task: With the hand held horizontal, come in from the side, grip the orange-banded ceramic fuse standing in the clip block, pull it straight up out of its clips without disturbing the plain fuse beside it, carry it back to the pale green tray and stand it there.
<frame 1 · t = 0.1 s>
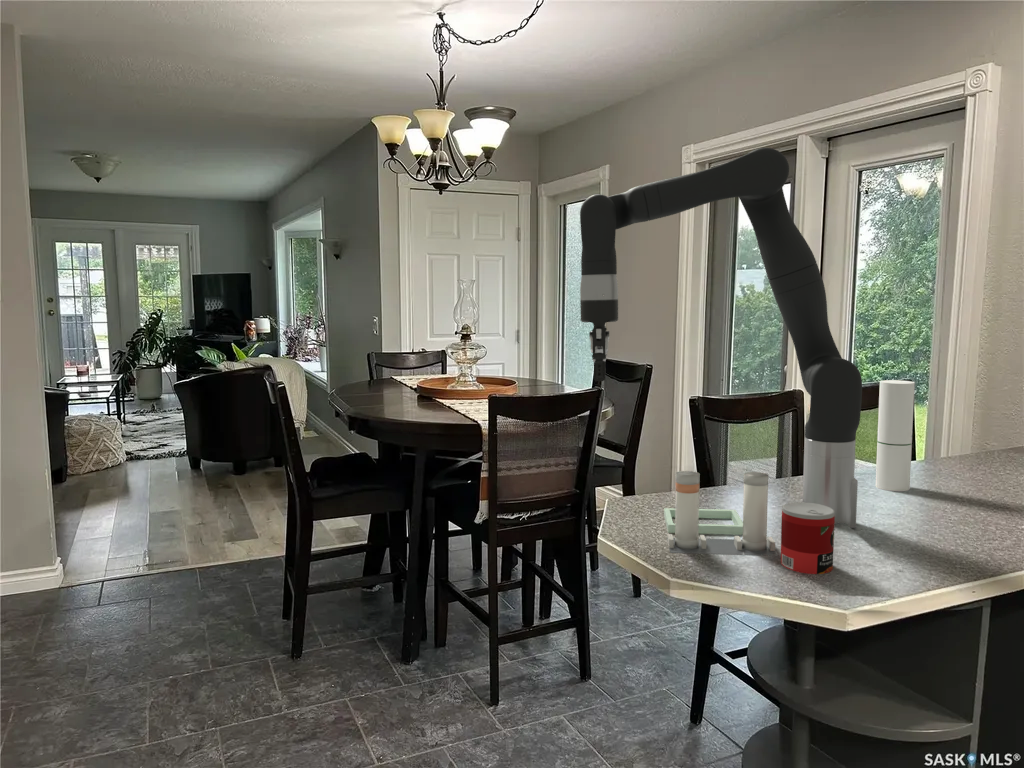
hand: (599, 378, 148), 29 cm above the table, tool pointing down, fingers open, 8 cm apart
tray: (702, 532, 142), on the table
cylindrical container: (892, 488, 172), on the table
canned food: (806, 575, 120), on the table
clip block: (720, 554, 129), on the table
plain fuse: (754, 547, 128), point 1 cm above the table, touching clip block
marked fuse: (686, 545, 130), point 1 cm above the table, touching clip block
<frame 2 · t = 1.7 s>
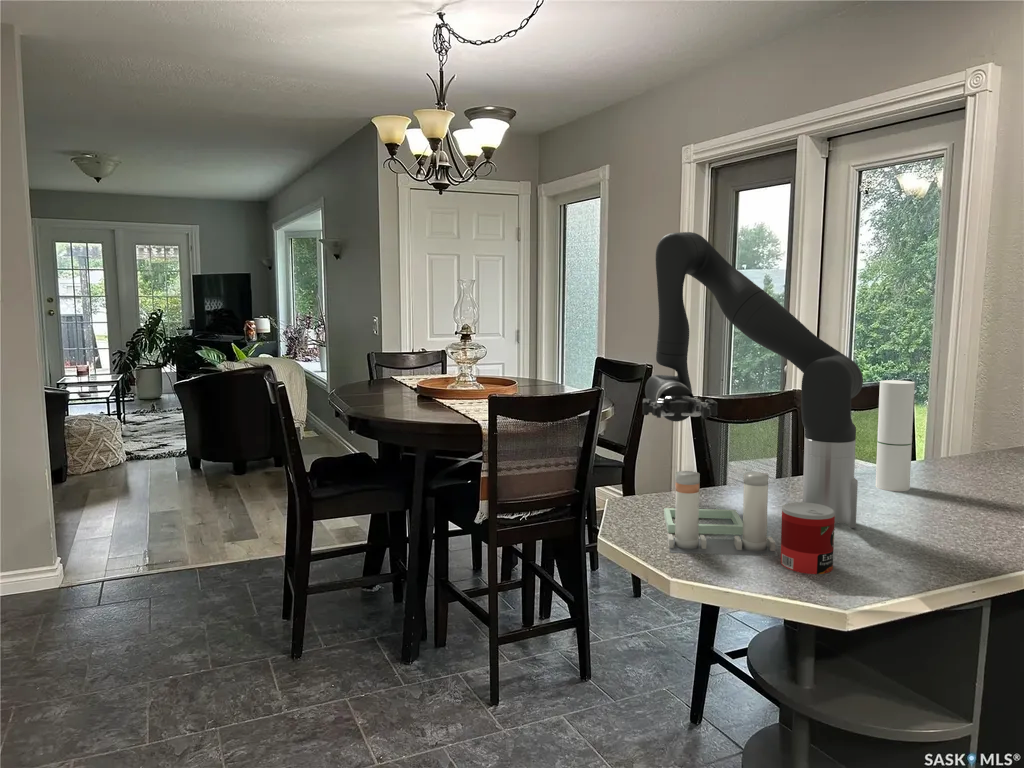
hand: (682, 412, 138), 24 cm above the table, tool horizontal, fingers open, 8 cm apart
nothing on the table moved.
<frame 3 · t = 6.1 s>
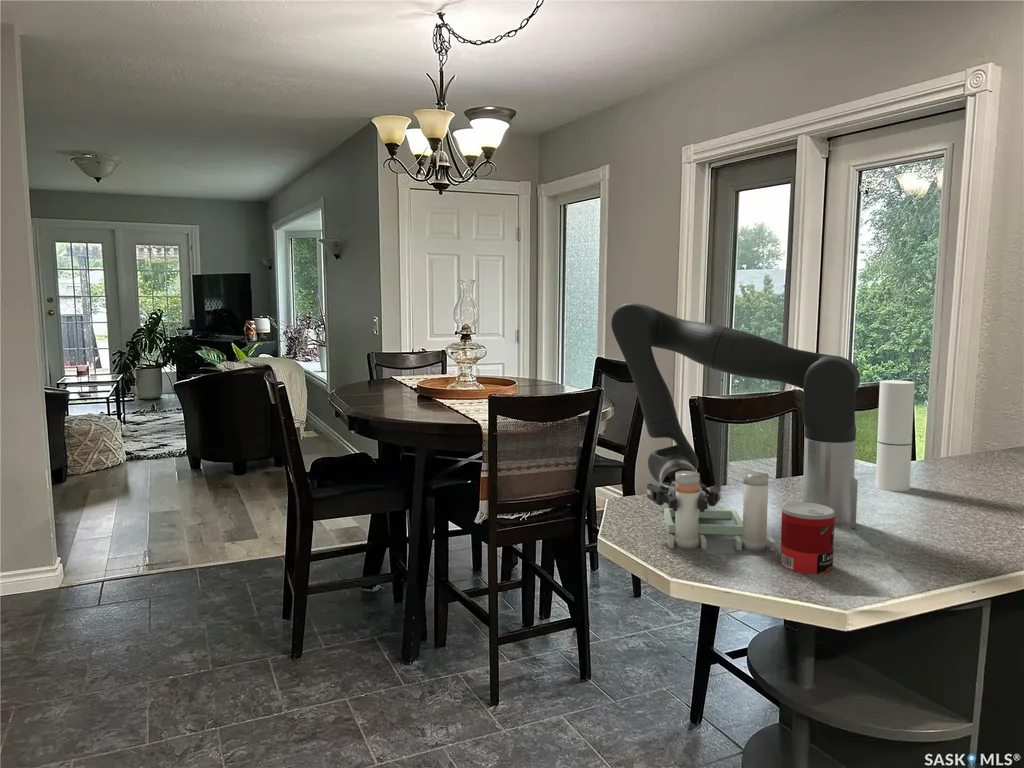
hand: (689, 505, 126), 9 cm above the table, tool horizontal, fingers closed on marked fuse, 4 cm apart
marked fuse: (686, 545, 130), point 2 cm above the table, touching clip block, gripper
everything else where it was.
when the fingers open (10 cm above the table, at t = 12.9 s): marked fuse stays where it is, resting on tray.
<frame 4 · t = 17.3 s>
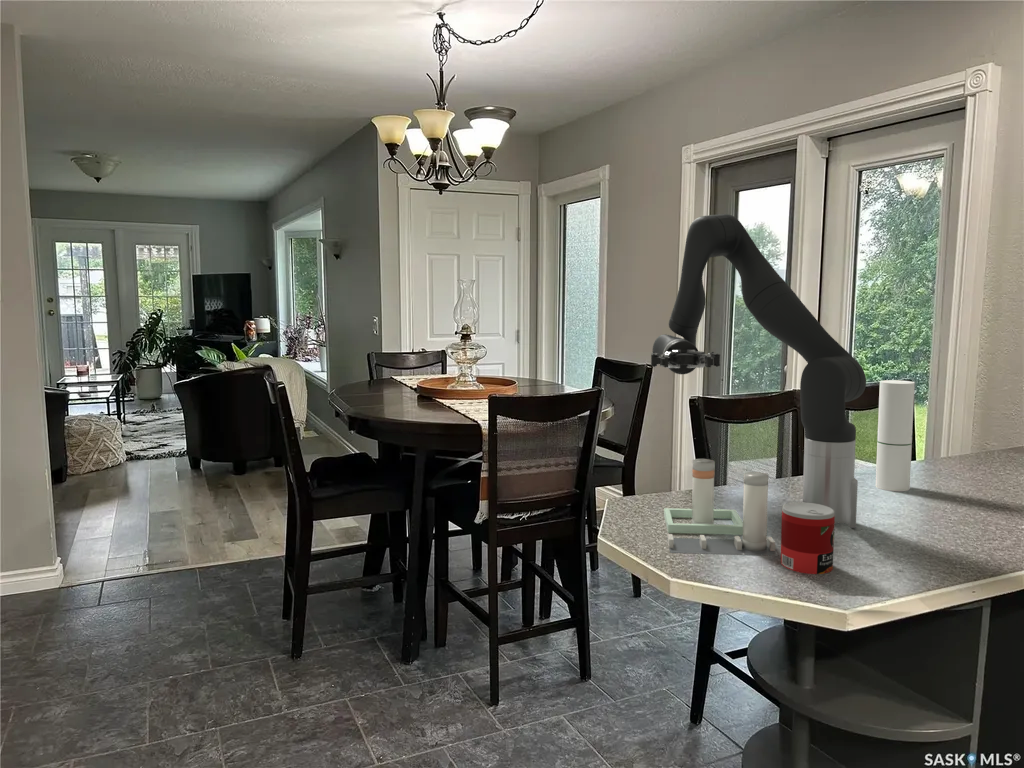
hand: (687, 362, 150), 32 cm above the table, tool horizontal, fingers open, 8 cm apart
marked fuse: (702, 526, 142), point 1 cm above the table, touching tray
everything else where it was.
at the end: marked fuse inside the target area on the tray (0.1 cm from its centre), point 1.0 cm above the tray's base; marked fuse tilted 0°; plain fuse moved 0.0 cm from its start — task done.
